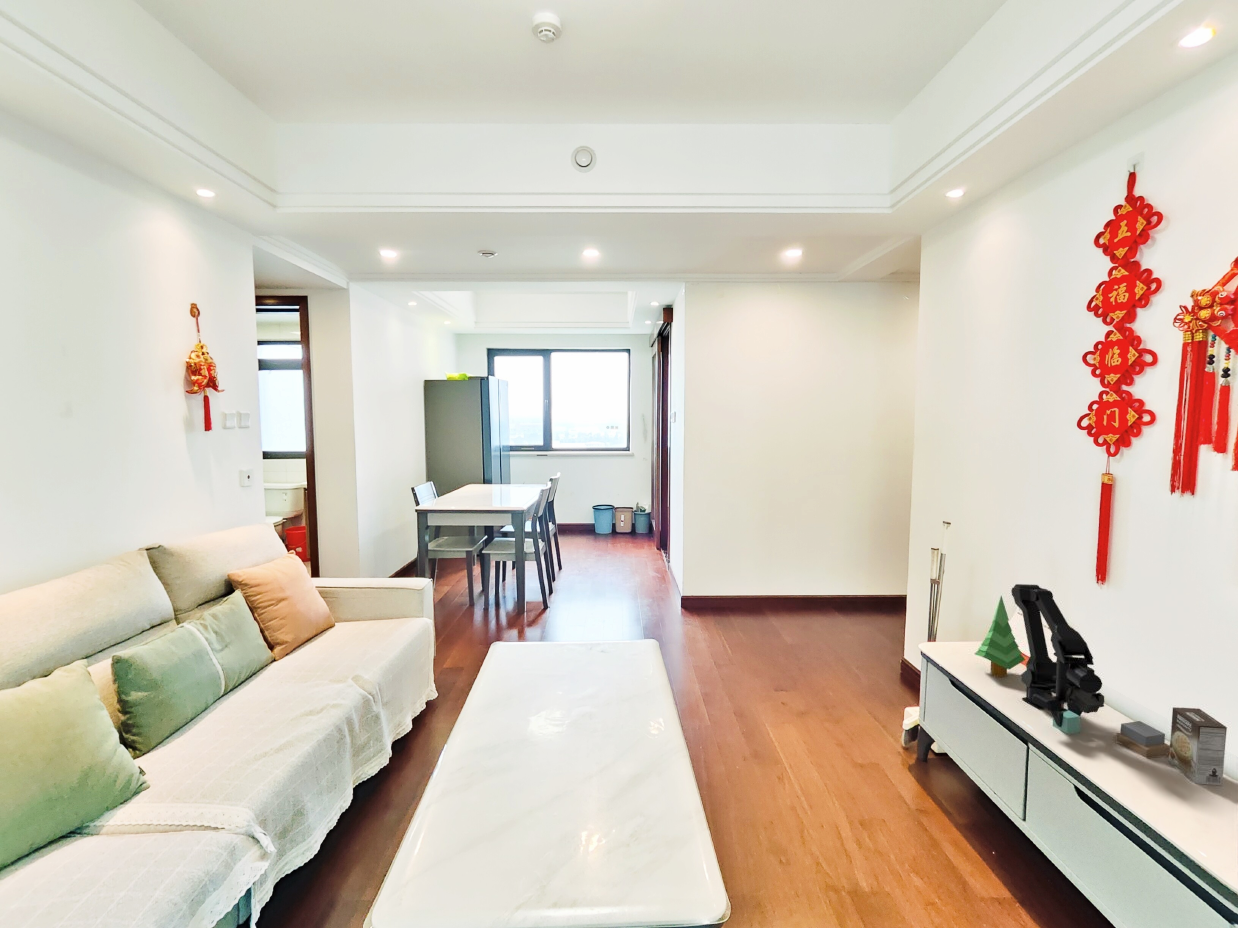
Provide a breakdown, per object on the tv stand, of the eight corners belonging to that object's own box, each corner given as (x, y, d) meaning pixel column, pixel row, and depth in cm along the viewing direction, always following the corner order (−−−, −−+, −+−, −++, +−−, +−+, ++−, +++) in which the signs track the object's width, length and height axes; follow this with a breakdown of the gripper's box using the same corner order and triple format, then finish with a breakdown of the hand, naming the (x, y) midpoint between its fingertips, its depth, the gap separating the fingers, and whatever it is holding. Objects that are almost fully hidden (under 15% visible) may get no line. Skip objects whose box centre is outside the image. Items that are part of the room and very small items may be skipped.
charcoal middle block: (1120, 733, 160) (1121, 723, 160) (1139, 730, 161) (1139, 720, 161) (1145, 746, 154) (1145, 736, 153) (1164, 743, 155) (1165, 733, 154)
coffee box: (1167, 761, 151) (1170, 705, 149) (1194, 763, 150) (1198, 707, 148) (1194, 783, 142) (1198, 724, 140) (1224, 786, 141) (1228, 726, 139)
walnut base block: (1115, 742, 161) (1116, 733, 160) (1139, 739, 162) (1139, 729, 161) (1146, 759, 153) (1146, 749, 152) (1170, 755, 154) (1170, 745, 154)
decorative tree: (965, 669, 206) (967, 591, 204) (996, 662, 211) (999, 586, 208) (1000, 686, 193) (1003, 603, 191) (1032, 678, 198) (1036, 597, 195)
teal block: (1052, 725, 169) (1053, 710, 169) (1065, 723, 170) (1065, 708, 169) (1066, 733, 165) (1067, 717, 164) (1079, 732, 165) (1080, 716, 165)
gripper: (1067, 692, 156) (1064, 744, 158) (1122, 685, 159) (1119, 737, 161) (1032, 674, 167) (1030, 723, 169) (1084, 668, 170) (1082, 716, 172)
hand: (1066, 725), depth 167 cm, fingers closed on teal block, 4 cm apart
